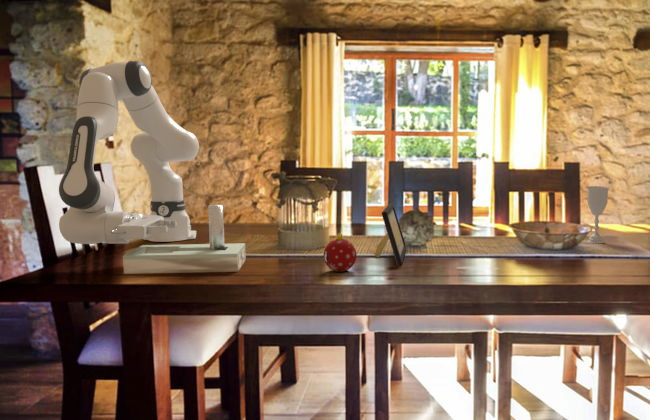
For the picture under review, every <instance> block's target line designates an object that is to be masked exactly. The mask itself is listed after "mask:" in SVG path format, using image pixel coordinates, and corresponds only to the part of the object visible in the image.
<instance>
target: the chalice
mask: <svg viewBox="0 0 650 420" xmlns="http://www.w3.org/2000/svg"><path fill="white" fill-rule="evenodd" d="M586 189H587V205H588V208H589V210H590V213H591V214H592V215H593V216H594V226H593V228H594V232H593V234H591V235H589V238H588V240H587V243H589V244H590V243H591V244H605V240H604V238H603V236H602V234H600V233H599V228H600V226H599V223H600V221H599V220H600V219H599V217H600V216H601V215H603V213H604V211H605V209H606V207H607V205H608V201H609V200H608V198H609V189H610V186H601V185H600V186H599V185H595V186H594V185H590V186H586Z"/></svg>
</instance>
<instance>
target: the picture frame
mask: <svg viewBox="0 0 650 420" xmlns="http://www.w3.org/2000/svg"><path fill="white" fill-rule="evenodd" d="M381 216H382V220H383V223H384V226H385V229H386V232H387V233H385V236H383V238H382V239H381V241H379V243H378V244H377V245H376V249H375V251H374V257H376V258H380V256H381V255H382V252H383V250H384V249H385V247H386V245H387V243H388V241H389V243H390V246H391V249H392V253H393V255H394V259H395V262H396V265H397V266H401V265H402V264H403V262H404V257H405V255H406V252H407V246H406V241H405V239H404V236H403V232H402V228H401V225H400V223H399V219H398V216H397V212H396V209H395V206H394V203H392V202H391V203H388V205H386V206H385V208H384V209H383V210H382V212H381Z"/></svg>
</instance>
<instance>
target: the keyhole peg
mask: <svg viewBox="0 0 650 420" xmlns="http://www.w3.org/2000/svg"><path fill="white" fill-rule="evenodd" d="M207 210H208V211H207V213H208V233H209V237H208V238H209V244H210V251H211V250H225V244H226V243H225V227H224V225H225V224H224V222H225V221H224V205H223V204H210V205H208V206H207Z"/></svg>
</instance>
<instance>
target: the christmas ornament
mask: <svg viewBox="0 0 650 420" xmlns="http://www.w3.org/2000/svg"><path fill="white" fill-rule="evenodd" d="M357 255H358V254H357V250H356V247H355V246H354V245H353V243H352V242H351V241H349V240H347V239H344V238H343V234H342V233H337V237H336V239H333V240H331V241H330V242H329V243H327V244H326V246H325V247H324V250H323V261H324V263H325V265H326V266H327V267H328V268H329V269H330V270H332V271H334V272H338V273H344V272H346V271H348V270H350V269H351V268H353V266H354V265H355V263H356V261H357V257H358V256H357Z"/></svg>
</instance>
